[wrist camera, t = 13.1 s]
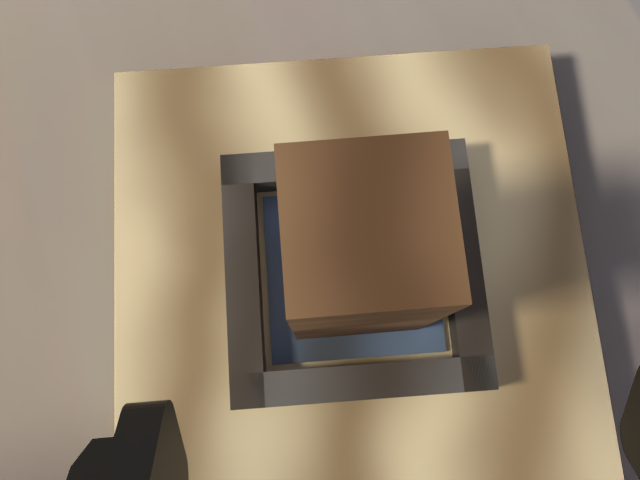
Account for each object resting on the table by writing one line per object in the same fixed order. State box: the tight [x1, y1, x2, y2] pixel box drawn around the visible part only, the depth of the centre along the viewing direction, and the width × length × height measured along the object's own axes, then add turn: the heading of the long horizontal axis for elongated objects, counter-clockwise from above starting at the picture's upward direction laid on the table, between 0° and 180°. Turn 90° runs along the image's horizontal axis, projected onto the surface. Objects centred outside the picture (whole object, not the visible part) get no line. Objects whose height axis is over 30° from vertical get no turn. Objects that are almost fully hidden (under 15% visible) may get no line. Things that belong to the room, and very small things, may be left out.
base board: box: [114, 44, 624, 480], centre depth 23 cm, size 18×18×3 cm
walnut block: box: [274, 130, 472, 340], centre depth 19 cm, size 4×4×8 cm
